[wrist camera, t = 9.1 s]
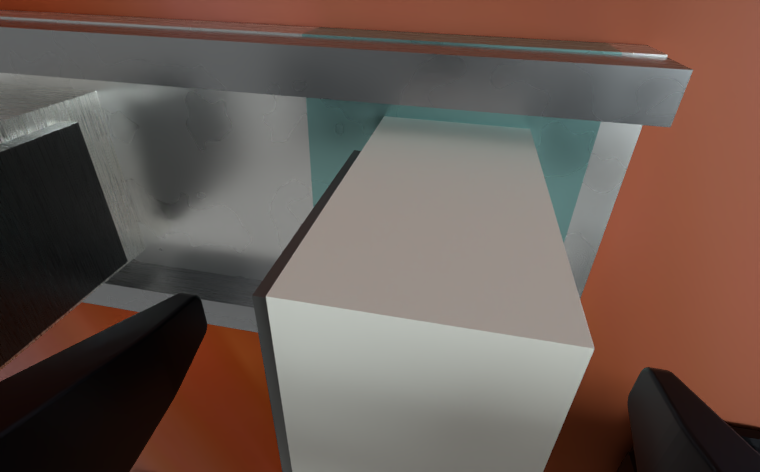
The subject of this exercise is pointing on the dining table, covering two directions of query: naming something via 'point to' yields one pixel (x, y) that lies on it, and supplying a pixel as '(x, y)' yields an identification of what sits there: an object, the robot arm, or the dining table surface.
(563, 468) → the dining table surface
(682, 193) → the dining table surface
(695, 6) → the dining table surface
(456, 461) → the white rectangular block
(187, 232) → the rail
